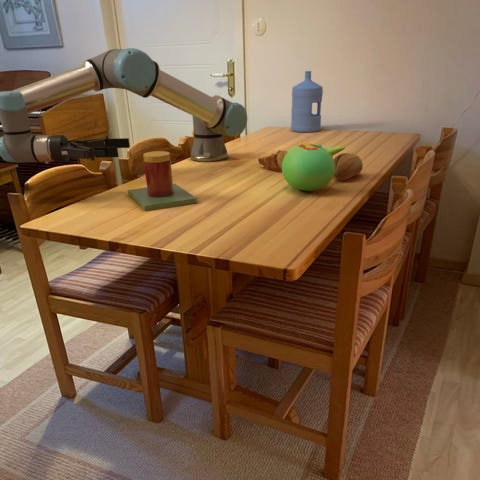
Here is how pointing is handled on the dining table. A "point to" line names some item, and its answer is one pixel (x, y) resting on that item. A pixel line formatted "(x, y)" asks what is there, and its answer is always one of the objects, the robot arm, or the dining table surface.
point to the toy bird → (309, 166)
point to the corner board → (161, 198)
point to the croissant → (273, 161)
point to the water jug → (306, 105)
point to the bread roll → (347, 166)
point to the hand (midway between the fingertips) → (123, 147)
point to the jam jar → (159, 179)
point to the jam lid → (156, 156)
